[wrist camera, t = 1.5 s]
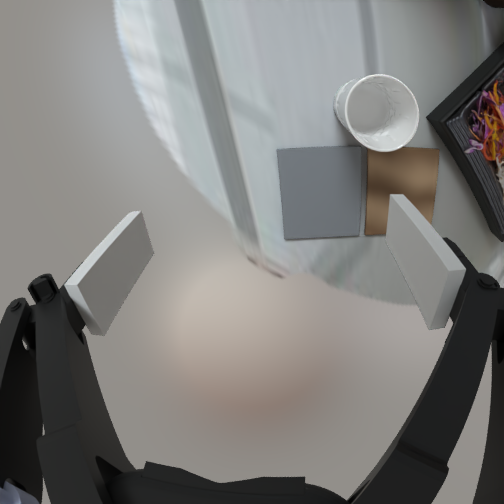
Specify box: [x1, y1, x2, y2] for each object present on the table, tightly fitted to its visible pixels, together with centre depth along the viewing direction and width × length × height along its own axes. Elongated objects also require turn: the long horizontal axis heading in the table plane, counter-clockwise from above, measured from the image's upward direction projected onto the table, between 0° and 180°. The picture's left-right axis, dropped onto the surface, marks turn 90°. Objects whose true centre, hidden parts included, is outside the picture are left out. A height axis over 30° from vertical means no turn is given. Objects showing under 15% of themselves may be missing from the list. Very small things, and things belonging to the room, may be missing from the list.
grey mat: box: [277, 146, 361, 239], centre depth 39 cm, size 13×11×1 cm
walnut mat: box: [364, 147, 439, 235], centre depth 37 cm, size 13×11×1 cm
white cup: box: [333, 74, 419, 152], centre depth 28 cm, size 8×8×10 cm
